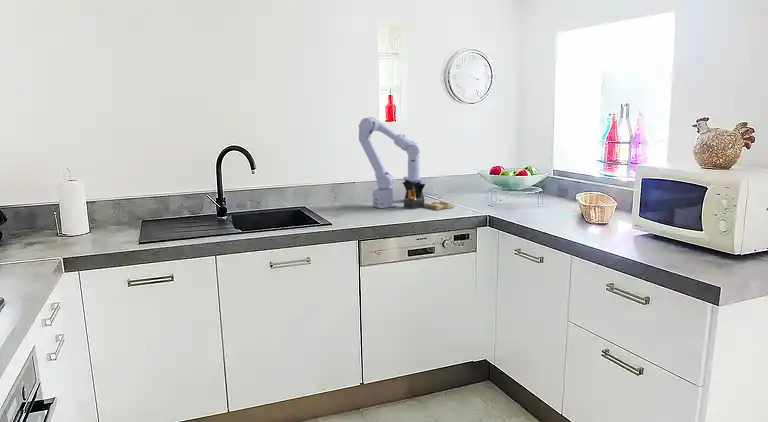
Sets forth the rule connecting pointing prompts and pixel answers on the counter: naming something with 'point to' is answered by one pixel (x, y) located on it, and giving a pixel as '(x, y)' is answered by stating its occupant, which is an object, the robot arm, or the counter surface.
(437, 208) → the key tray
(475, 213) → the counter surface
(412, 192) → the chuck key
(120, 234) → the counter surface
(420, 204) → the chuck block
